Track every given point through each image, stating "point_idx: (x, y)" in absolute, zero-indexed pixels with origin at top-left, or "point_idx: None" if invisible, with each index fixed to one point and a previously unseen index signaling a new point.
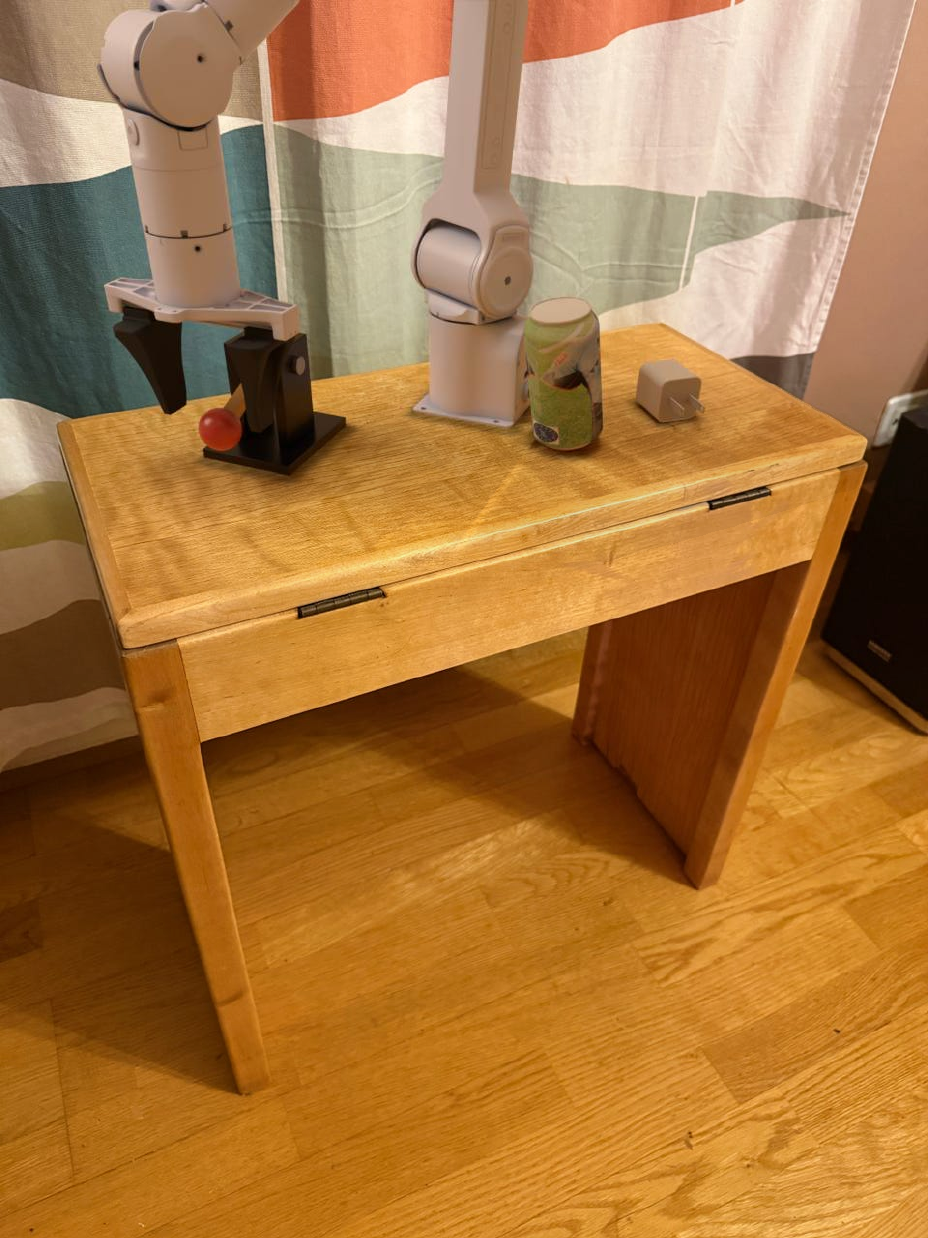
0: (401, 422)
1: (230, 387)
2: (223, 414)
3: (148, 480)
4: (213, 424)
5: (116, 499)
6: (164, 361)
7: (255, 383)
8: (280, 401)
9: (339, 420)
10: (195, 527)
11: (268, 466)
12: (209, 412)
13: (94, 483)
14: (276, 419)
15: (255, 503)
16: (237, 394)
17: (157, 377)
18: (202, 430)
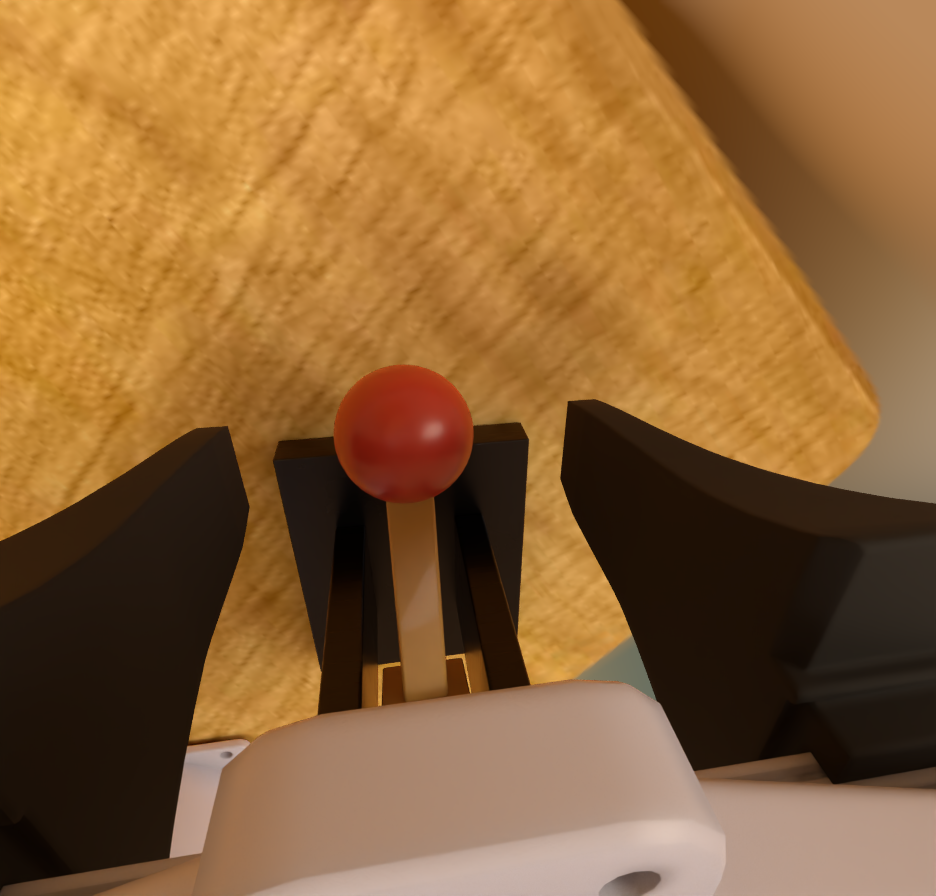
0: (246, 707)
1: (507, 611)
2: (373, 459)
3: (600, 290)
4: (386, 408)
5: (629, 162)
6: (650, 541)
7: (8, 541)
8: (337, 620)
9: (322, 657)
10: (327, 115)
11: (334, 449)
12: (428, 449)
13: (725, 214)
14: (361, 575)
15: (272, 311)
16: (421, 576)
17: (640, 457)
18: (427, 383)
